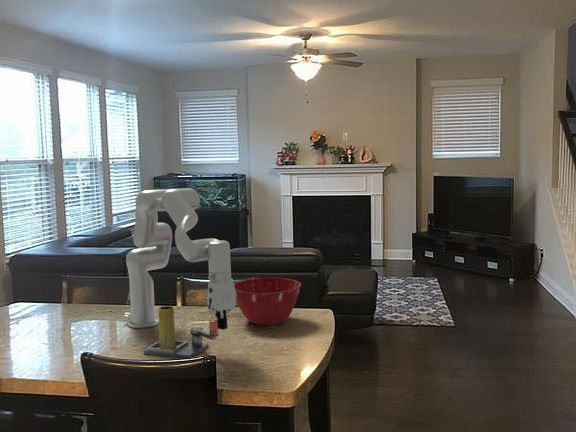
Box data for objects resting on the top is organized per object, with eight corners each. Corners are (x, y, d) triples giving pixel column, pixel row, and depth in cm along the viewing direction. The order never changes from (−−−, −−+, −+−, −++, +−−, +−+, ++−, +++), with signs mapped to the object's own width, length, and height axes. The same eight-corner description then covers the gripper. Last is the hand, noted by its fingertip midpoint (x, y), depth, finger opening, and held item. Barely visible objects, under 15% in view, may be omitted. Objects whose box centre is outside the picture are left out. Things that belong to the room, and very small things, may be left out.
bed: (143, 354, 210) (143, 339, 210) (164, 342, 223) (164, 328, 223) (189, 358, 204) (189, 343, 204) (208, 346, 217) (208, 332, 217)
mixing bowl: (296, 331, 234) (295, 292, 233) (225, 329, 239) (223, 291, 237) (305, 313, 262) (305, 278, 260) (242, 311, 266) (241, 277, 265)
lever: (188, 333, 215) (187, 315, 214) (198, 330, 218) (197, 313, 217) (211, 342, 204) (210, 323, 203) (222, 339, 207) (221, 320, 206)
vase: (160, 344, 216) (158, 306, 215) (177, 344, 217) (175, 305, 216) (157, 350, 210) (156, 310, 209) (175, 349, 211) (173, 309, 210)
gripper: (212, 281, 200) (215, 335, 201) (242, 273, 211) (244, 325, 213) (196, 279, 204) (199, 332, 206) (227, 272, 216) (229, 322, 217)
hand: (222, 328), depth 209 cm, fingers closed
